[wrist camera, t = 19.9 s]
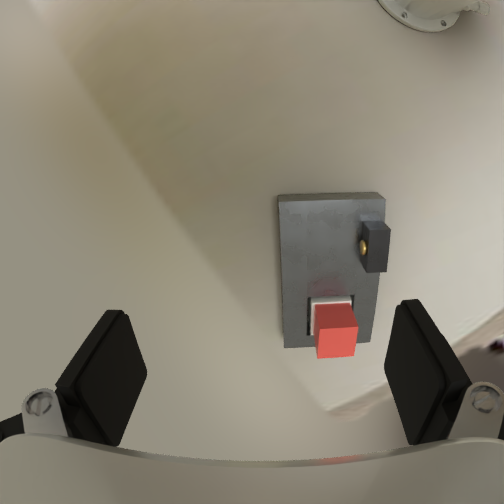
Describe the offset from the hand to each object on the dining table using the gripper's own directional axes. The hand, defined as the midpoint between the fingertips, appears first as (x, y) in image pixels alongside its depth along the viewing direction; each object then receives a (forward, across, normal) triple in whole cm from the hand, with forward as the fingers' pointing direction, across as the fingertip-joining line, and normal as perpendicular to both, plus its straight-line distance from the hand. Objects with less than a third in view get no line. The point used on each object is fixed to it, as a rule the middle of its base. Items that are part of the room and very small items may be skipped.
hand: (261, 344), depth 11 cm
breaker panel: (+28, -7, +12) cm, 32 cm away
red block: (+25, -7, +17) cm, 31 cm away
